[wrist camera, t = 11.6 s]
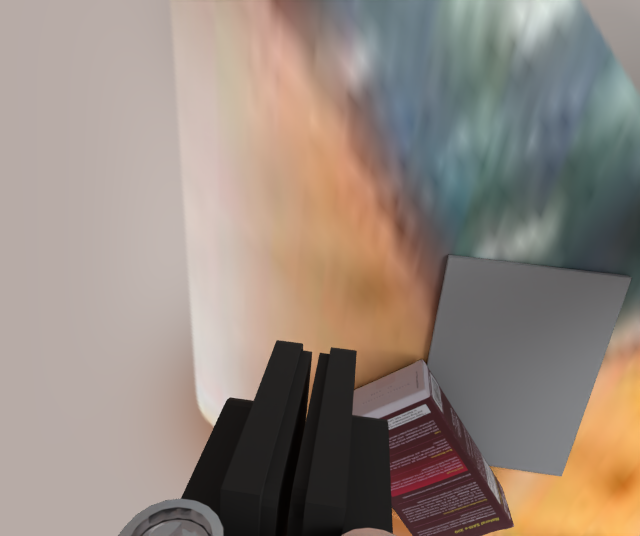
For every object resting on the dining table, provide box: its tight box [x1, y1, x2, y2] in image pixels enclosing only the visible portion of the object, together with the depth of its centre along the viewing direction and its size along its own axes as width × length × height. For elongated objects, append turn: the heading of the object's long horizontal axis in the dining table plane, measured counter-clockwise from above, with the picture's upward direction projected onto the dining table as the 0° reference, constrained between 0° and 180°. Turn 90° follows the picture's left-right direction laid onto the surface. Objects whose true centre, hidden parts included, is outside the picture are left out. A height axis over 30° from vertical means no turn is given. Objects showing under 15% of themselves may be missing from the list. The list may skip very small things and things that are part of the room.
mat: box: [427, 255, 632, 476], centre depth 42 cm, size 14×20×1 cm
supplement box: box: [352, 359, 514, 536], centre depth 43 cm, size 9×5×16 cm
